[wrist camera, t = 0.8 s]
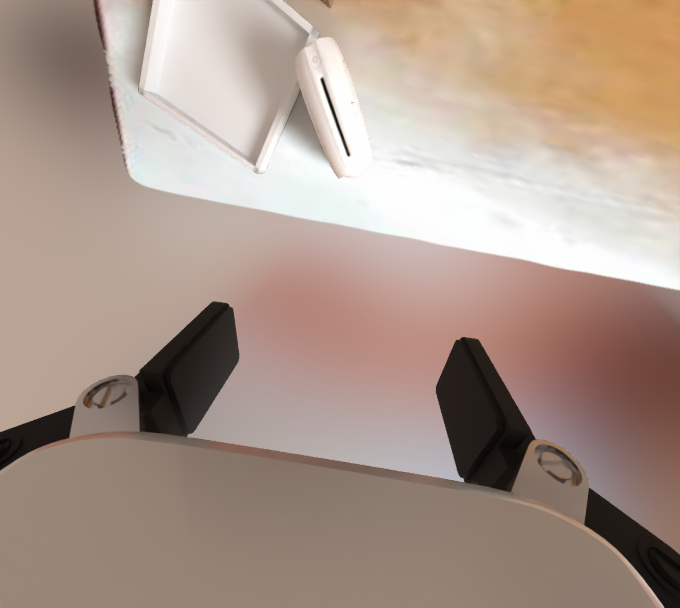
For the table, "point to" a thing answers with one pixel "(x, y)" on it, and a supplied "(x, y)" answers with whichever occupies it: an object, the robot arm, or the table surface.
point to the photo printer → (334, 107)
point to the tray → (226, 70)
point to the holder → (328, 2)
